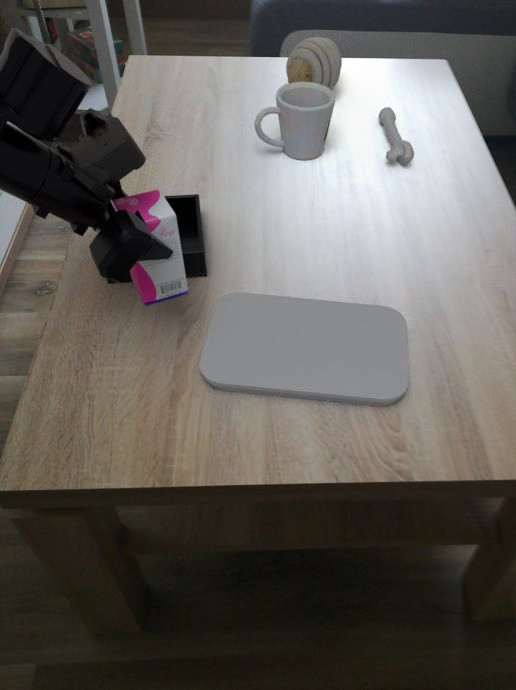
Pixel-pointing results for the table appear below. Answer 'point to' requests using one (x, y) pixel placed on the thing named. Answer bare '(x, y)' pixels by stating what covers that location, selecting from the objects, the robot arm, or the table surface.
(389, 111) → the bone
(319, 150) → the mug
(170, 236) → the supplement box
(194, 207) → the black open box
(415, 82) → the table surface
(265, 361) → the tablet
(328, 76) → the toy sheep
